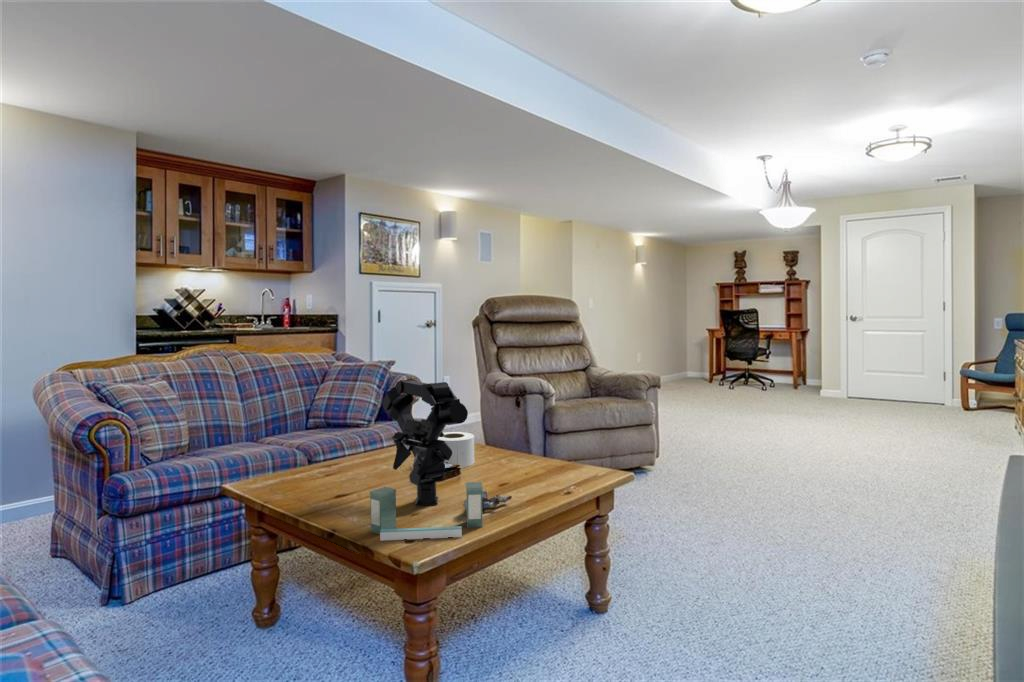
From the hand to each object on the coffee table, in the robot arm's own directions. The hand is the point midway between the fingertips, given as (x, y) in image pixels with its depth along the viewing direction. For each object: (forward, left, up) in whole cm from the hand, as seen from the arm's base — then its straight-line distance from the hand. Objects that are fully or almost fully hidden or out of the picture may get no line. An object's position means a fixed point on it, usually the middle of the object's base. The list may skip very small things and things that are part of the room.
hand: (405, 471), depth 155 cm
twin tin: (+4, +18, -14) cm, 23 cm away
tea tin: (+6, -5, -14) cm, 16 cm away
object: (-61, +13, -14) cm, 64 cm away
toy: (-8, +21, -14) cm, 27 cm away
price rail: (+12, +5, -13) cm, 19 cm away
